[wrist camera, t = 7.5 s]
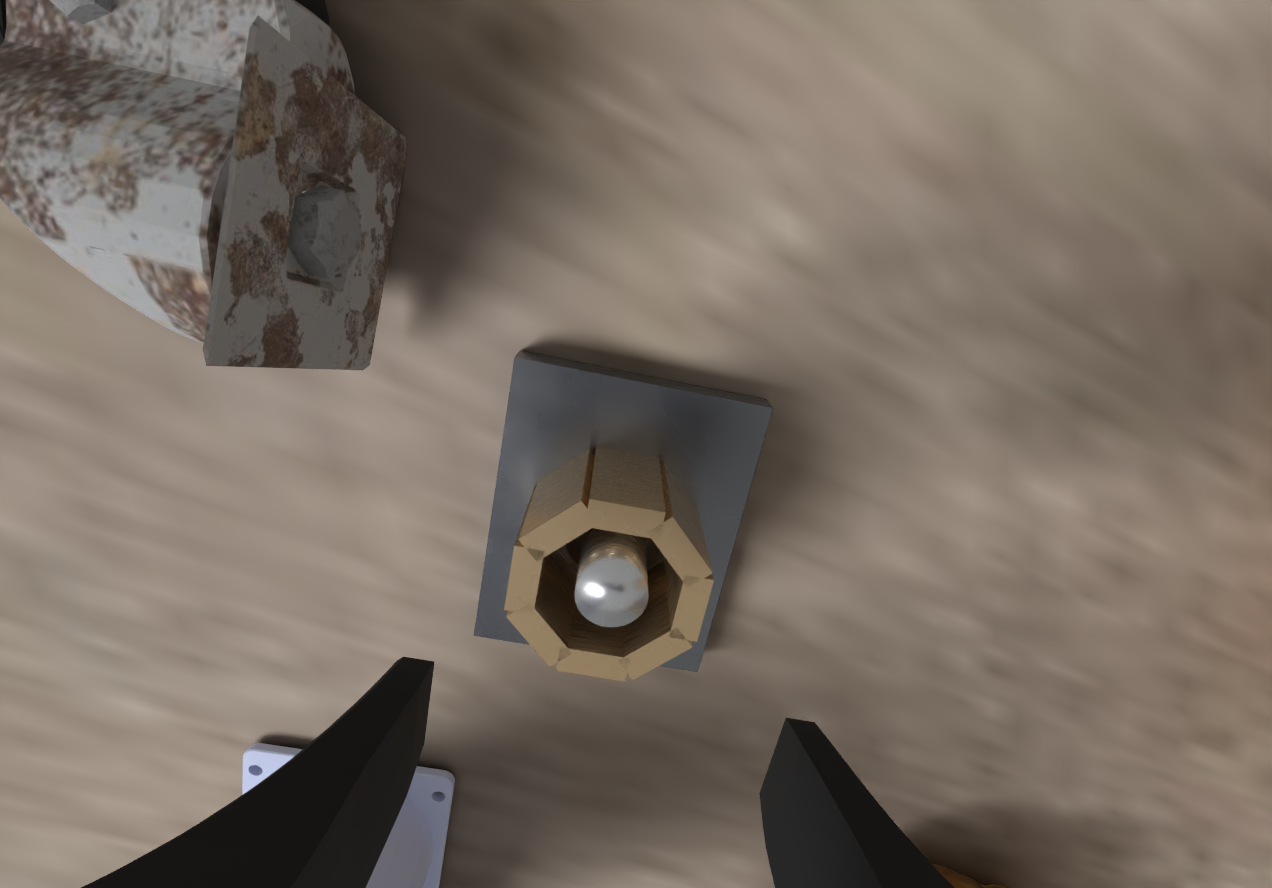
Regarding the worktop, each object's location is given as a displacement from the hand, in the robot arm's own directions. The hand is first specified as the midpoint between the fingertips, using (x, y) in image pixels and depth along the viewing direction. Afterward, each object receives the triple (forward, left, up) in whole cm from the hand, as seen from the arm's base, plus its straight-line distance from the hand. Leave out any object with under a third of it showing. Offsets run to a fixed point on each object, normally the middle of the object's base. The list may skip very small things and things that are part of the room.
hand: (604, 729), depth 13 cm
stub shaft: (0, 0, -10) cm, 10 cm away
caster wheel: (+10, +13, -10) cm, 19 cm away
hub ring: (0, 0, -9) cm, 9 cm away
